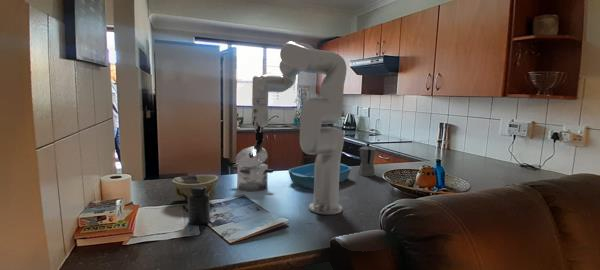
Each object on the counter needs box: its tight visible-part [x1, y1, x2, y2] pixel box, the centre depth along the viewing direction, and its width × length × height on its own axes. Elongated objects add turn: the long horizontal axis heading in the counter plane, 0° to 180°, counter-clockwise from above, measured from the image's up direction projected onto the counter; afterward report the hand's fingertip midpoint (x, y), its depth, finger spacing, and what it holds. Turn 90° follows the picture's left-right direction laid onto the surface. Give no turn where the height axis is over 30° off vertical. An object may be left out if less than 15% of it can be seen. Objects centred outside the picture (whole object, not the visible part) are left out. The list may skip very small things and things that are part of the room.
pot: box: [232, 163, 274, 192], centre depth 151 cm, size 15×20×10 cm
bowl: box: [171, 174, 219, 203], centre depth 130 cm, size 18×18×10 cm
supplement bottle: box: [187, 185, 211, 226], centre depth 109 cm, size 7×7×12 cm
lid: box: [235, 138, 268, 168], centre depth 151 cm, size 20×15×2 cm
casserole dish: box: [288, 162, 352, 190], centre depth 166 cm, size 37×22×7 cm, turn 140°
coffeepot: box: [357, 142, 377, 177], centre depth 182 cm, size 15×9×18 cm, turn 175°
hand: (259, 140), depth 157 cm, fingers closed
